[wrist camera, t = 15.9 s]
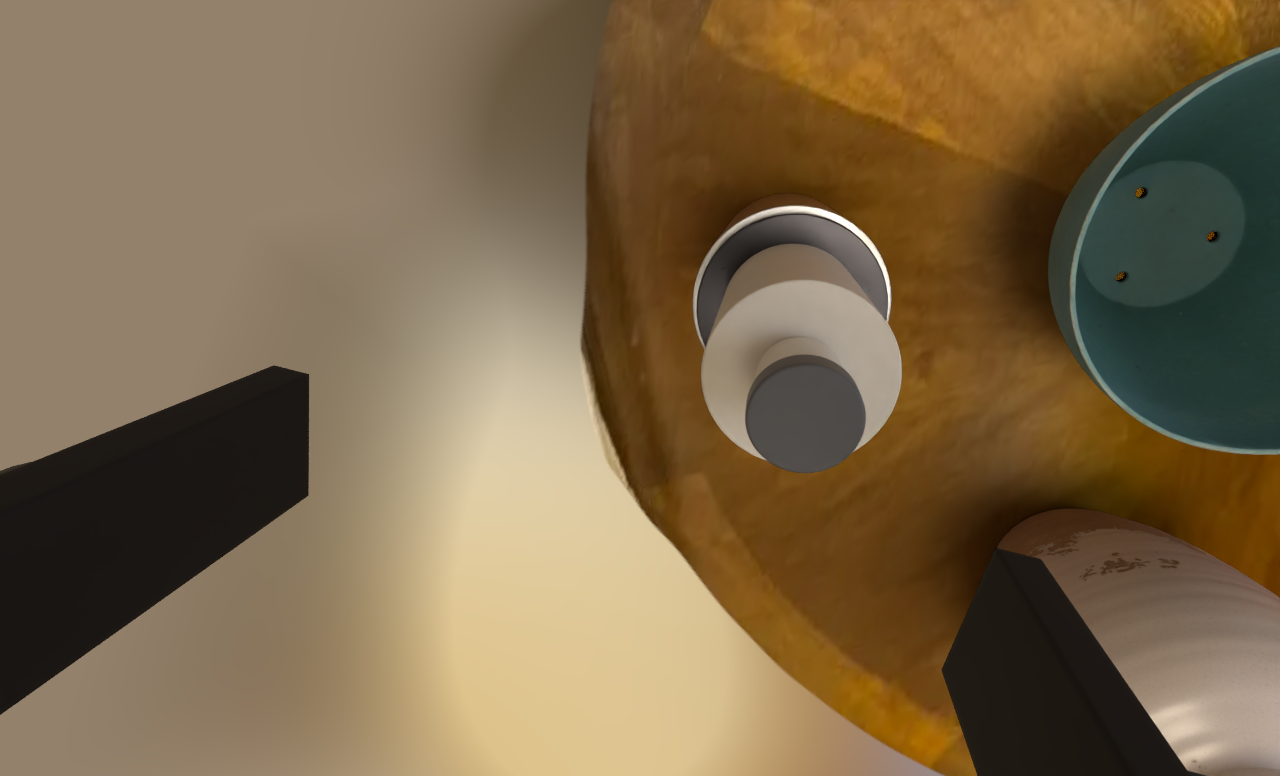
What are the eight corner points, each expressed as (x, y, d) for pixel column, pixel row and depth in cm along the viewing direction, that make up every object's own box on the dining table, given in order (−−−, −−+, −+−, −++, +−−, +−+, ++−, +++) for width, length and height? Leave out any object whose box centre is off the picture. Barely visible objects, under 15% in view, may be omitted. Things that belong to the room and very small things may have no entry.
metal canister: (689, 266, 46) (650, 313, 31) (783, 163, 42) (790, 160, 27) (782, 353, 46) (788, 441, 31) (882, 258, 43) (941, 306, 28)
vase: (1128, 426, 43) (1472, 675, 22) (1229, 606, 46) (1625, 984, 25) (905, 528, 49) (1010, 809, 27) (1007, 685, 51) (1175, 1054, 30)
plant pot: (1041, 419, 44) (1135, 506, 33) (948, 166, 41) (1017, 165, 29) (1365, 308, 39) (1614, 366, 27) (1292, 4, 35) (1543, -75, 24)
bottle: (695, 313, 30) (640, 419, 17) (790, 213, 28) (806, 251, 15) (789, 400, 31) (802, 565, 18) (889, 308, 29) (985, 421, 16)
